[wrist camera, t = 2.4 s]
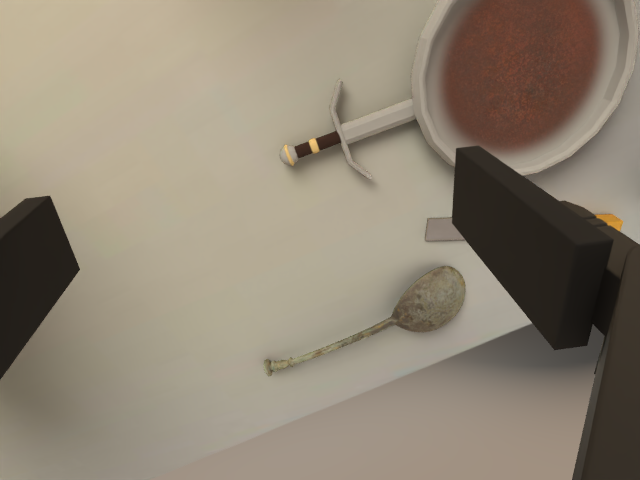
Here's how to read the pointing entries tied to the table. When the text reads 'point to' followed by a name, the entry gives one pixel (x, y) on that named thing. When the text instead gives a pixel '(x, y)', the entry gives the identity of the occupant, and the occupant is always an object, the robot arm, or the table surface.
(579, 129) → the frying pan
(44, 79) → the table surface
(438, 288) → the soupspoon
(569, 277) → the robot arm
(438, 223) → the knife
